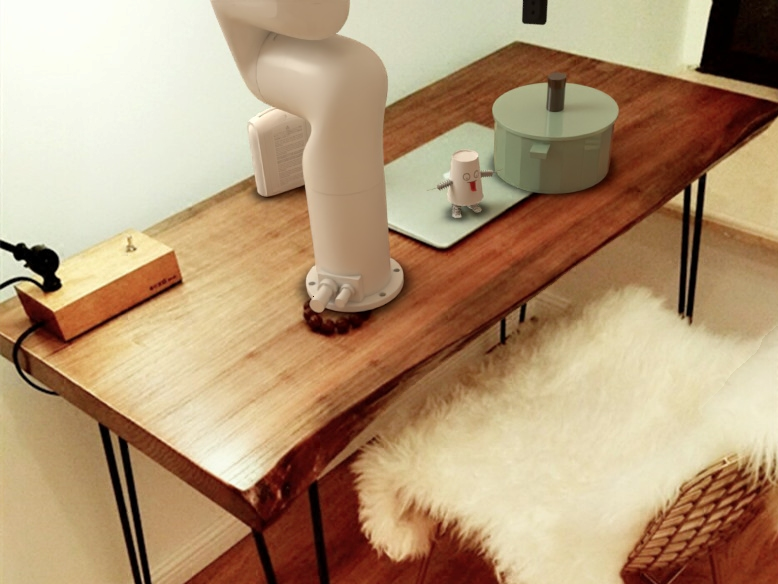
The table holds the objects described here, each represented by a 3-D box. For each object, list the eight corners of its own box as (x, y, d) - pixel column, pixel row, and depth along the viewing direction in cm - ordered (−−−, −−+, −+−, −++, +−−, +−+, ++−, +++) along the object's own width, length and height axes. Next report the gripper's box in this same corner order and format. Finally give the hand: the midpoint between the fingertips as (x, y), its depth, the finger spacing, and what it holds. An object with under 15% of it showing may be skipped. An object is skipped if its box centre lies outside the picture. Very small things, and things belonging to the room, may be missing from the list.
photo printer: (311, 169, 141) (302, 92, 133) (325, 179, 139) (316, 101, 130) (252, 190, 137) (239, 112, 129) (265, 201, 135) (252, 122, 126)
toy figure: (437, 231, 126) (435, 175, 120) (419, 212, 130) (417, 158, 124) (512, 209, 130) (514, 154, 124) (493, 191, 133) (494, 137, 128)
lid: (626, 95, 137) (631, 56, 133) (607, 151, 124) (611, 109, 120) (508, 85, 142) (509, 46, 138) (478, 137, 129) (478, 97, 125)
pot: (619, 137, 144) (625, 85, 138) (595, 209, 128) (601, 154, 123) (513, 126, 149) (514, 76, 143) (477, 195, 133) (477, 141, 127)
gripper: (566, -113, 105) (557, 36, 117) (590, -149, 117) (580, -11, 129) (502, -114, 107) (499, 32, 119) (533, -149, 119) (527, -13, 131)
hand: (541, 10), depth 124 cm, fingers open, 9 cm apart
